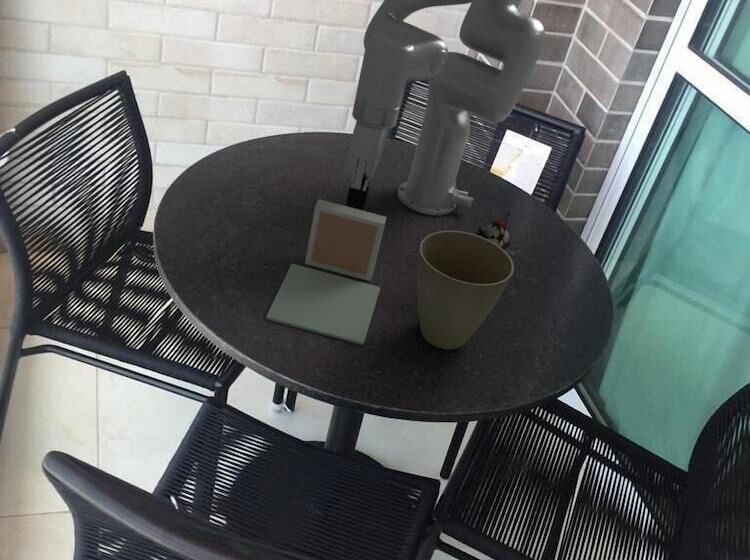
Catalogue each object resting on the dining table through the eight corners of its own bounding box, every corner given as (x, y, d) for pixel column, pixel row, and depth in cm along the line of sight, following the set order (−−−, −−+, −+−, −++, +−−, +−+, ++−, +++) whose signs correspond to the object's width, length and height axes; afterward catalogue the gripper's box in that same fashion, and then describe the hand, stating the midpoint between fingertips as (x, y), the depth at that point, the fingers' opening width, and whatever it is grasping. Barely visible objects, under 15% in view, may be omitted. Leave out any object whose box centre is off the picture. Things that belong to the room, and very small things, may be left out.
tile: (372, 273, 145) (386, 217, 138) (370, 282, 143) (384, 224, 136) (308, 256, 145) (318, 199, 139) (304, 264, 143) (315, 206, 136)
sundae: (498, 280, 151) (523, 212, 143) (491, 299, 146) (516, 229, 137) (465, 268, 152) (487, 200, 144) (456, 286, 147) (479, 216, 139)
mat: (379, 289, 141) (380, 287, 141) (363, 345, 128) (363, 342, 128) (291, 265, 142) (291, 263, 142) (265, 318, 129) (266, 316, 128)
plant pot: (480, 313, 142) (506, 238, 133) (491, 371, 129) (521, 291, 120) (396, 301, 140) (417, 223, 131) (399, 358, 128) (423, 276, 119)
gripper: (362, 89, 140) (343, 182, 150) (344, 121, 127) (325, 220, 138) (404, 100, 139) (382, 192, 150) (391, 133, 127) (368, 232, 137)
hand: (355, 205), depth 144 cm, fingers closed
